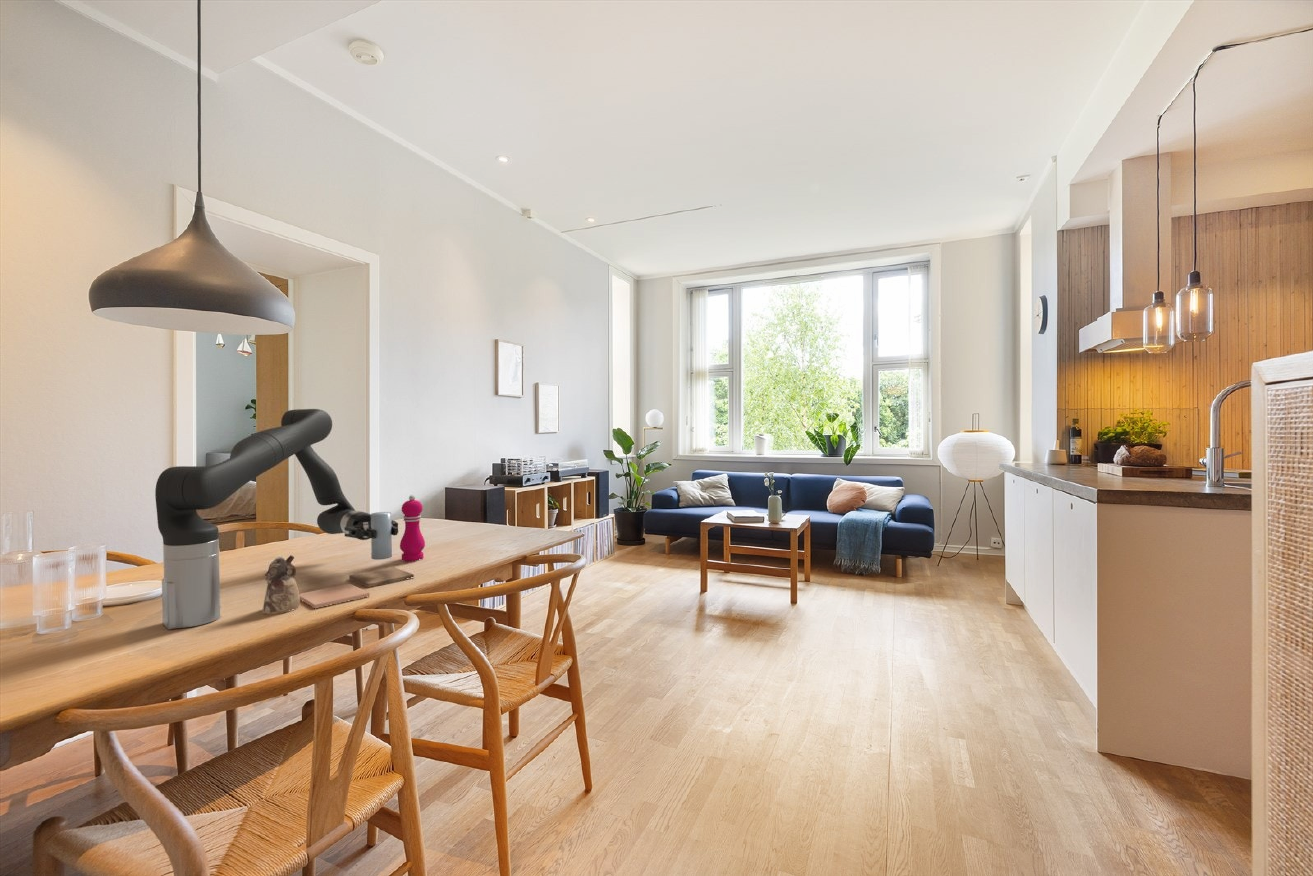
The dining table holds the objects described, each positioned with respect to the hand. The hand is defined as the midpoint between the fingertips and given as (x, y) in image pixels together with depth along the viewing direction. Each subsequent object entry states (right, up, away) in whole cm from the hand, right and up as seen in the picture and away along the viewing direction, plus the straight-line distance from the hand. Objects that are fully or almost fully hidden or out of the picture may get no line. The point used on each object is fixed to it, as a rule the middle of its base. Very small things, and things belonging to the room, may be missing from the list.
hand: (385, 533), depth 153 cm
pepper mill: (-3, -12, +24) cm, 27 cm away
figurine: (-13, -14, -23) cm, 30 cm away
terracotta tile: (-6, -13, -15) cm, 21 cm away
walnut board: (-2, -13, +2) cm, 13 cm away
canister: (-2, -7, +2) cm, 7 cm away
